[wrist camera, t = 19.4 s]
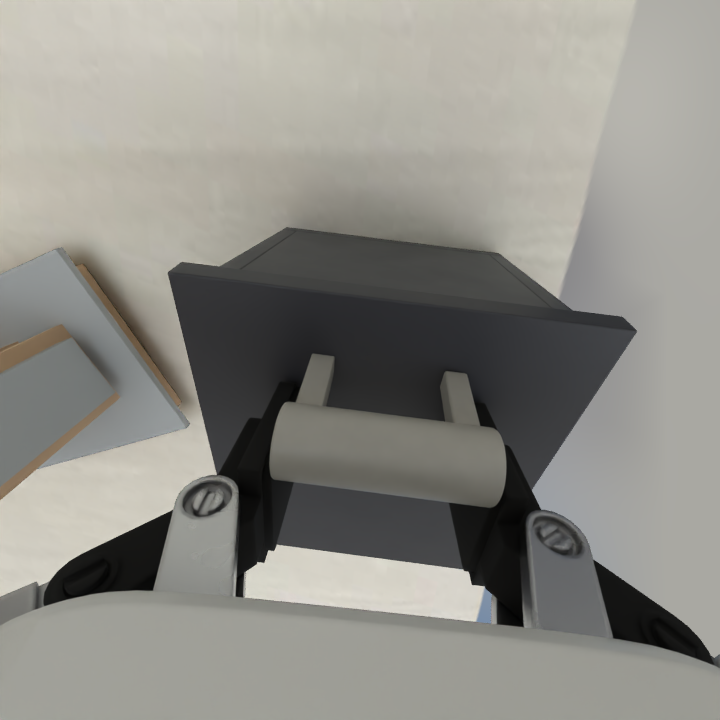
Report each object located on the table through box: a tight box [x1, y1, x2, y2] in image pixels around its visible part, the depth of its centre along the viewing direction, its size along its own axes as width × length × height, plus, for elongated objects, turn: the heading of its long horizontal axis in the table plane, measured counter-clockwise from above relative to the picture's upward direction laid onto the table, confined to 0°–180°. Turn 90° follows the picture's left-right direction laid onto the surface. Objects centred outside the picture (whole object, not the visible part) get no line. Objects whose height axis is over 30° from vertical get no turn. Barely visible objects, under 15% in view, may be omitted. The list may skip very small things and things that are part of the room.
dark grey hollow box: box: [220, 227, 573, 311], centre depth 20 cm, size 14×13×10 cm
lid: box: [168, 262, 637, 569], centre depth 12 cm, size 14×13×5 cm
